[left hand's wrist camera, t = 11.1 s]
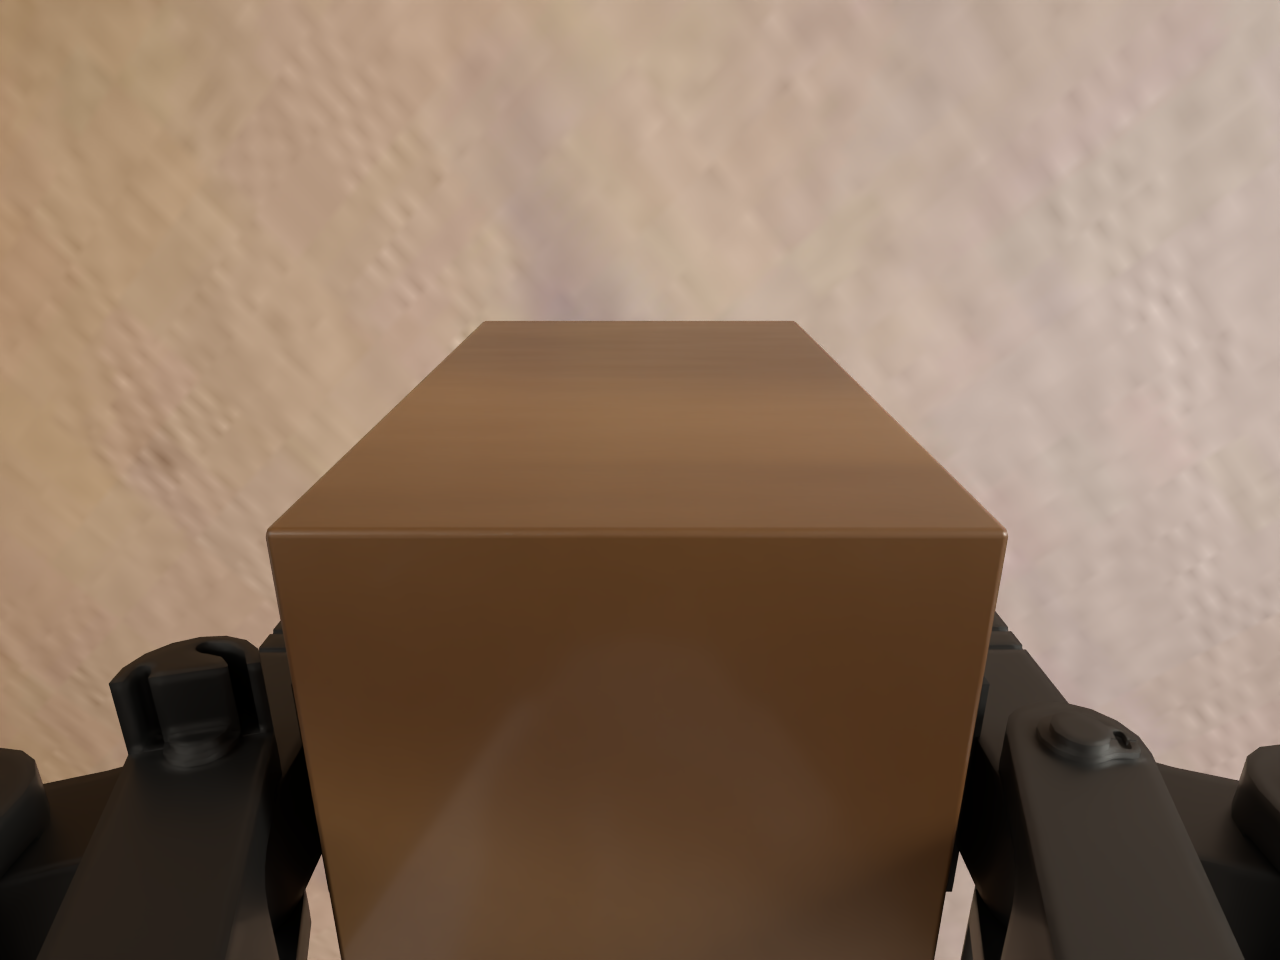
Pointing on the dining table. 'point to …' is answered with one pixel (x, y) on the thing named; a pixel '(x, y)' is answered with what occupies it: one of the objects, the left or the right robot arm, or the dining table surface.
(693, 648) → the bar
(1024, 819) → the left robot arm
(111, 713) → the dining table surface
